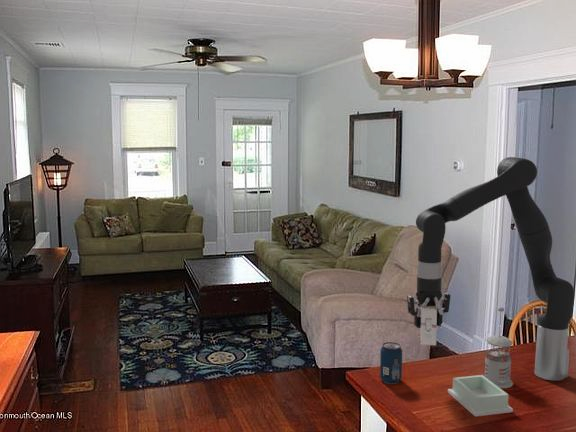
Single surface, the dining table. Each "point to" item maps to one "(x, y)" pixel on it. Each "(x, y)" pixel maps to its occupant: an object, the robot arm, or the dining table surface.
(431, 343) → the ink cartridge box
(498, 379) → the french press
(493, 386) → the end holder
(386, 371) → the soda can
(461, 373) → the dining table surface
